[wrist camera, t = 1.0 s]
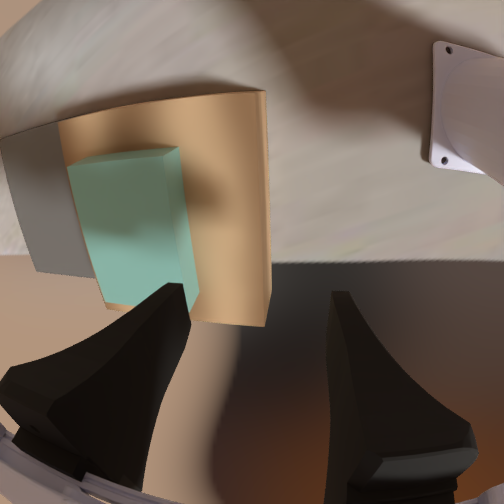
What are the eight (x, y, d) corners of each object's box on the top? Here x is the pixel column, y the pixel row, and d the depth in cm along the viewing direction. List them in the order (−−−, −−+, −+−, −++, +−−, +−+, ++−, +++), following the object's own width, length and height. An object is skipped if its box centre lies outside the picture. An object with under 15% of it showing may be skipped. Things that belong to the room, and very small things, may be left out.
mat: (94, 111, 19) (91, 112, 19) (129, 279, 26) (127, 281, 26) (1, 139, 21) (-2, 140, 21) (38, 269, 28) (36, 271, 28)
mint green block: (178, 146, 15) (162, 156, 14) (199, 291, 20) (189, 312, 18) (87, 156, 16) (66, 166, 15) (119, 284, 21) (105, 302, 19)
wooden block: (265, 90, 17) (254, 92, 14) (271, 290, 24) (264, 326, 20) (94, 111, 19) (57, 122, 15) (129, 279, 26) (106, 308, 22)
